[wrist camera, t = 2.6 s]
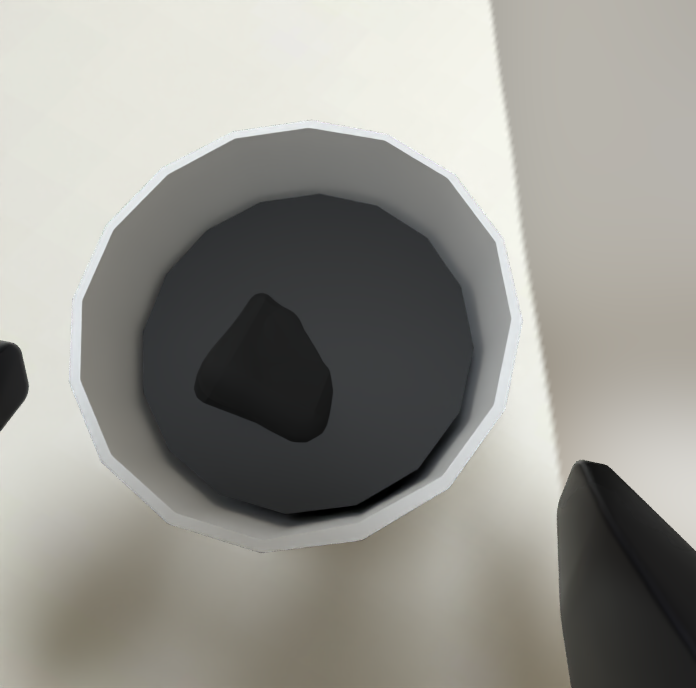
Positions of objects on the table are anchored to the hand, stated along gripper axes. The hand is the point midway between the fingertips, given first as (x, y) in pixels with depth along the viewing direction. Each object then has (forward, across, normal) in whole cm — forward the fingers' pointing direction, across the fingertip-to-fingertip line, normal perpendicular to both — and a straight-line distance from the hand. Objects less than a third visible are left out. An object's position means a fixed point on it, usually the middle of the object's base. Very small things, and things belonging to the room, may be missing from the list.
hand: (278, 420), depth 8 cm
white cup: (+8, 0, +5) cm, 9 cm away
